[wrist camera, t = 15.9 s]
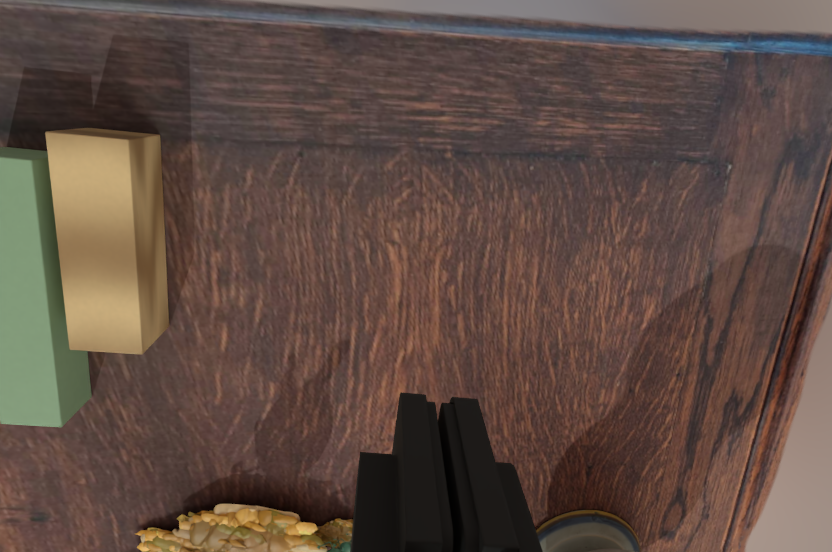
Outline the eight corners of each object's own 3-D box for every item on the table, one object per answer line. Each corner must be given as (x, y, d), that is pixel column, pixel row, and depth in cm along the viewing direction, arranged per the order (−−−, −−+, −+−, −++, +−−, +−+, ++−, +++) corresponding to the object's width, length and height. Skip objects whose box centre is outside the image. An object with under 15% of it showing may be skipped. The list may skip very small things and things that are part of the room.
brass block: (87, 127, 30) (44, 131, 26) (160, 134, 30) (128, 139, 26) (104, 321, 33) (68, 350, 30) (169, 326, 34) (142, 354, 30)
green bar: (5, 146, 30) (-43, 152, 26) (70, 153, 30) (31, 159, 27) (36, 393, 35) (-1, 424, 31) (92, 396, 35) (61, 427, 32)
